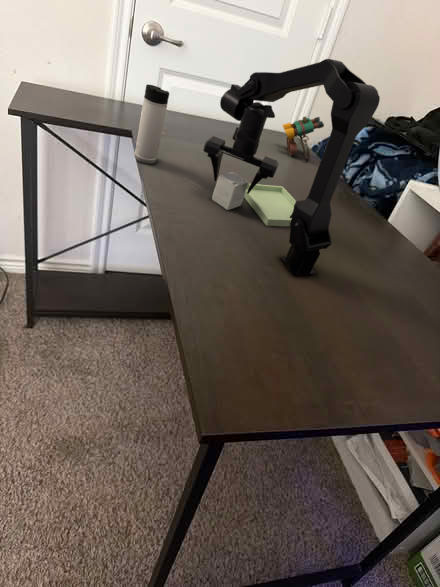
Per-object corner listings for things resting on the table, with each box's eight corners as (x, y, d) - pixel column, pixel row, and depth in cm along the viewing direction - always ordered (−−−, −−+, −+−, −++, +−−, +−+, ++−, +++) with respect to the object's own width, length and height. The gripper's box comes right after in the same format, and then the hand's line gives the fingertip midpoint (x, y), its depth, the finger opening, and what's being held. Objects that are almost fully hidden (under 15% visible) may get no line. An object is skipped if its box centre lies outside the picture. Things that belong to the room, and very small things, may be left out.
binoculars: (286, 154, 171) (279, 117, 162) (321, 144, 169) (316, 106, 160) (292, 168, 160) (285, 129, 151) (329, 158, 158) (325, 118, 149)
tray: (311, 227, 119) (314, 221, 118) (266, 225, 112) (268, 219, 111) (280, 192, 132) (282, 186, 131) (237, 188, 125) (239, 182, 124)
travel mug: (128, 157, 120) (140, 82, 108) (142, 152, 126) (155, 81, 113) (147, 166, 119) (160, 92, 107) (160, 161, 124) (174, 90, 112)
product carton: (224, 195, 119) (232, 171, 115) (241, 206, 117) (249, 181, 112) (210, 199, 115) (218, 174, 110) (227, 210, 113) (236, 185, 108)
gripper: (290, 134, 110) (269, 189, 119) (223, 108, 110) (207, 164, 120) (284, 146, 101) (262, 204, 110) (211, 118, 101) (195, 178, 111)
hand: (231, 187), depth 113 cm, fingers open, 9 cm apart
